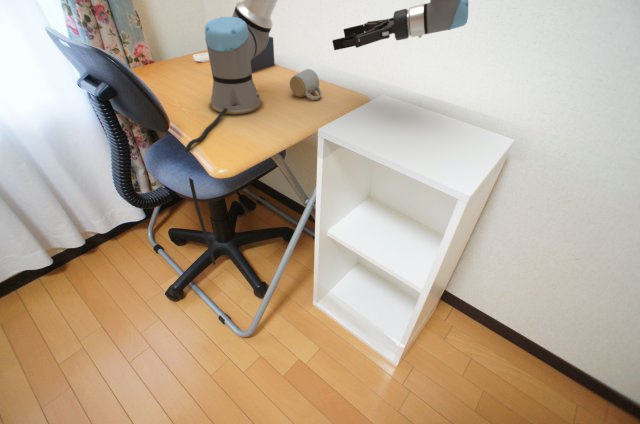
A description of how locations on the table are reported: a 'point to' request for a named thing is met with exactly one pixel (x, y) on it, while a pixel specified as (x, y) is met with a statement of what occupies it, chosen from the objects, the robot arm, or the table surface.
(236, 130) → the table surface
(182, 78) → the table surface
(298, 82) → the ceramic mug
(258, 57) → the storage box
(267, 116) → the table surface
